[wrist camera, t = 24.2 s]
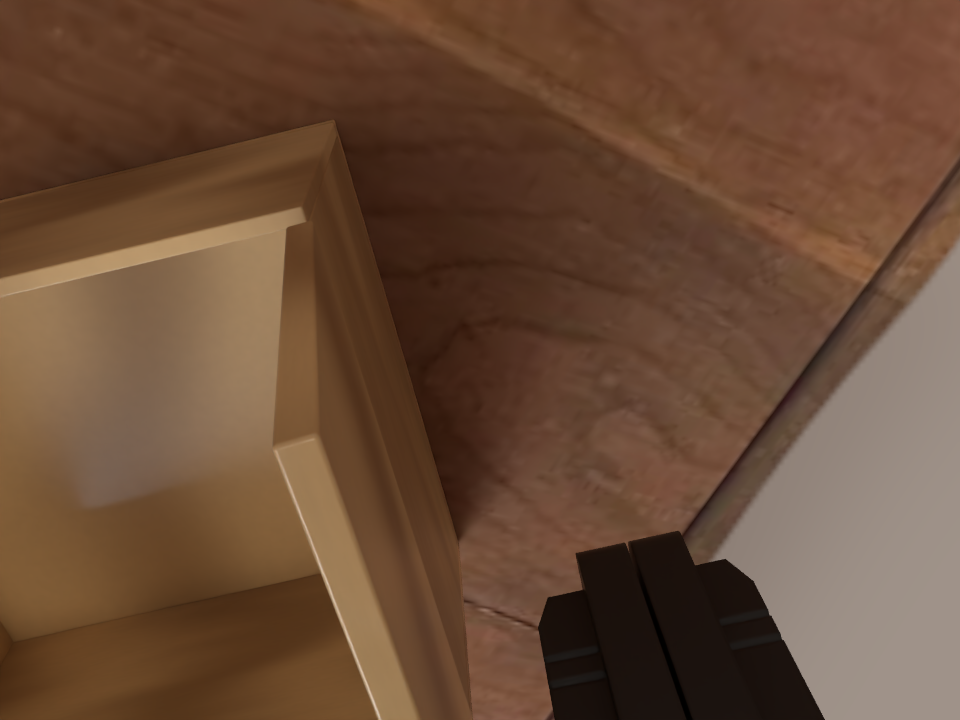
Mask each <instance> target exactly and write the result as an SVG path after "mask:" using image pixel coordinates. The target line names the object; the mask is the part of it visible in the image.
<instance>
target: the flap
mask: <svg viewBox="0 0 960 720" xmlns="http://www.w3.org/2000/svg"><path fill="white" fill-rule="evenodd" d="M272 451H273V453H274V456H275V458H276V461H277V463H278V466H279V469H280V471H281V474H282V476H283V479H284V481H285V484H286V486H287V489H288V492H289V494H290V497H291V499H292V502H293V504H294V507H295V509H296V512H297V515H298V517H299V520H300V522H301V525H302V527H303V530H304V532H305V535H306V537H307V540H308V543H309V545H310V548H311V550H312V553H313V555H314V558H315V560H316V563H317V566H318V568H319V571H320V573H321V576H322V578H323V581H324V583H325V586H326V589H327V591H328V594H329V596H330V599H331V601H332V604H333V606H334V609H335V611H336V614H337V617H338V619H339V622H340V624H341V627H342V629H343V632H344V634H345V637H346V640H347V642H348V645H349V647H350V650H351V652H352V655H353V657H354V660H355V663H356V665H357V668H358V670H359V673H360V675H361V678H362V680H363V683H364V685H365V688H366V691H367V693H368V696H369V698H370V701H371V703H372V706H373V708H374V711H375V714H376V716H377V719H378V720H473V718H472V715H471V712H470V709H469V705H468V702H467V699H466V696H465V693H464V690H463V687H462V684H461V681H460V677H459V674H458V671H457V668H456V665H455V662H454V659H453V656H452V653H451V649H450V646H449V643H448V640H447V637H446V634H445V631H444V628H443V625H442V621H441V618H440V615H439V612H438V609H437V606H436V603H435V600H434V597H433V593H432V590H431V587H430V584H429V581H428V578H427V575H426V572H425V569H424V565H423V562H422V559H421V556H420V553H419V550H418V547H417V544H416V541H415V537H414V534H413V531H412V528H411V525H410V522H409V519H408V516H407V513H406V509H405V506H404V503H403V500H402V497H401V494H400V491H399V488H398V485H397V481H396V478H395V475H394V472H393V469H392V466H391V463H390V460H389V457H388V453H387V450H386V447H385V444H384V441H383V438H382V435H381V432H380V429H379V425H378V422H377V419H376V416H375V413H374V410H373V407H372V404H371V401H370V397H369V394H368V391H367V388H366V385H365V382H364V379H363V376H362V373H361V369H360V366H359V363H358V360H357V357H356V354H355V351H354V348H353V345H352V341H351V338H350V335H349V332H348V329H347V326H346V323H345V320H344V317H343V313H342V310H341V307H340V304H339V301H338V298H337V295H336V292H335V289H334V285H333V282H332V279H331V276H330V273H329V270H328V267H327V264H326V261H325V257H324V254H323V251H322V248H321V245H320V242H319V239H318V236H317V233H316V229H315V226H314V223H313V222H312V221H308V222H304V223H300V224H297V225H293V226H289V227H287V228H286V239H285V254H284V270H283V286H282V301H281V317H280V332H279V348H278V364H277V379H276V395H275V411H274V426H273V442H272Z"/></svg>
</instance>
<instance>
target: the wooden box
mask: <svg viewBox="0 0 960 720" xmlns="http://www.w3.org/2000/svg"><path fill="white" fill-rule="evenodd" d="M308 221H312V222H313V223H314V226H315V229H316V233H317V236H318V239H319V242H320V245H321V248H322V251H323V254H324V257H325V261H326V264H327V267H328V270H329V273H330V276H331V279H332V282H333V285H334V289H335V292H336V295H337V298H338V301H339V304H340V307H341V310H342V313H343V317H344V320H345V323H346V326H347V329H348V332H349V335H350V338H351V341H352V345H353V348H354V351H355V354H356V357H357V360H358V363H359V366H360V369H361V373H362V376H363V379H364V382H365V385H366V388H367V391H368V394H369V397H370V401H371V404H372V407H373V410H374V413H375V416H376V419H377V422H378V425H379V429H380V432H381V435H382V438H383V441H384V444H385V447H386V450H387V453H388V457H389V460H390V463H391V466H392V469H393V472H394V475H395V478H396V481H397V485H398V488H399V491H400V494H401V497H402V500H403V503H404V506H405V509H406V513H407V516H408V519H409V522H410V525H411V528H412V531H413V534H414V537H415V541H416V544H417V547H418V550H419V553H420V556H421V559H422V562H423V565H424V569H425V572H426V575H427V578H428V581H429V584H430V587H431V590H432V593H433V597H434V600H435V603H436V606H437V609H438V612H439V615H440V618H441V621H442V625H443V628H444V631H445V634H446V637H447V640H448V643H449V646H450V649H451V653H452V656H453V659H454V662H455V665H456V668H457V671H458V674H459V677H460V681H461V684H462V687H463V690H464V693H465V696H466V699H467V702H468V705H469V709H470V712H471V715H472V703H471V691H470V678H469V665H468V653H467V640H466V627H465V615H464V602H463V589H462V577H461V564H460V551H459V543H458V539H457V536H456V532H455V529H454V526H453V522H452V519H451V515H450V512H449V508H448V505H447V502H446V498H445V495H444V491H443V488H442V485H441V481H440V478H439V474H438V471H437V468H436V464H435V461H434V457H433V454H432V451H431V447H430V444H429V440H428V437H427V434H426V430H425V427H424V423H423V420H422V417H421V413H420V410H419V406H418V403H417V400H416V396H415V393H414V389H413V386H412V382H411V379H410V376H409V372H408V369H407V365H406V362H405V359H404V355H403V352H402V348H401V345H400V342H399V338H398V335H397V331H396V328H395V325H394V321H393V318H392V314H391V311H390V308H389V304H388V301H387V297H386V294H385V291H384V287H383V284H382V280H381V277H380V274H379V270H378V267H377V263H376V260H375V256H374V253H373V250H372V246H371V243H370V239H369V236H368V233H367V229H366V226H365V222H364V219H363V216H362V212H361V209H360V205H359V202H358V199H357V195H356V192H355V188H354V185H353V182H352V178H351V175H350V171H349V168H348V165H347V161H346V158H345V154H344V151H343V148H342V144H341V141H340V137H339V134H338V130H337V127H336V124H335V121H334V120H330V121H326V122H322V123H317V124H313V125H309V126H305V127H301V128H297V129H293V130H288V131H284V132H280V133H276V134H272V135H268V136H264V137H260V138H255V139H251V140H247V141H243V142H239V143H235V144H231V145H227V146H222V147H218V148H214V149H210V150H206V151H202V152H198V153H194V154H189V155H185V156H181V157H177V158H173V159H169V160H165V161H161V162H156V163H152V164H148V165H144V166H140V167H136V168H132V169H128V170H123V171H119V172H115V173H111V174H107V175H103V176H99V177H94V178H90V179H86V180H82V181H78V182H74V183H70V184H66V185H61V186H57V187H53V188H49V189H45V190H41V191H37V192H33V193H28V194H24V195H20V196H16V197H12V198H8V199H4V200H0V720H378V719H377V716H376V714H375V711H374V708H373V706H372V703H371V701H370V698H369V696H368V693H367V691H366V688H365V685H364V683H363V680H362V678H361V675H360V673H359V670H358V668H357V665H356V663H355V660H354V657H353V655H352V652H351V650H350V647H349V645H348V642H347V640H346V637H345V634H344V632H343V629H342V627H341V624H340V622H339V619H338V617H337V614H336V611H335V609H334V606H333V604H332V601H331V599H330V596H329V594H328V591H327V589H326V586H325V583H324V581H323V578H322V576H321V573H320V571H319V568H318V566H317V563H316V560H315V558H314V555H313V553H312V550H311V548H310V545H309V543H308V540H307V537H306V535H305V532H304V530H303V527H302V525H301V522H300V520H299V517H298V515H297V512H296V509H295V507H294V504H293V502H292V499H291V497H290V494H289V492H288V489H287V486H286V484H285V481H284V479H283V476H282V474H281V471H280V469H279V466H278V463H277V461H276V458H275V456H274V453H273V451H272V442H273V426H274V411H275V395H276V379H277V364H278V348H279V332H280V317H281V301H282V286H283V270H284V254H285V239H286V228H287V227H289V226H293V225H297V224H300V223H304V222H308ZM472 718H473V716H472Z"/></svg>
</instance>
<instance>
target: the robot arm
mask: <svg viewBox="0 0 960 720" xmlns="http://www.w3.org/2000/svg"><path fill="white" fill-rule="evenodd" d="M628 546H629V551H628V548H627V546H626V544H625V543H621V544H616V545H611V546H607V547H602V548H598V549H593V550H589V551H584V552H579V553H576V559H577V564H578V569H579V573H580V578H581V583H582V587H583V590H581V591H576V592H572V593H567V594H562V595H558V596H553V597H548V599H547V602H546V605H545V608H544V611H543V614H542V617H541V620H540V623H539V626H538V629H539V635H540V640H541V646H542V651H543V657H544V662H545V668H546V673H547V679H548V684H549V689H550V696H551V701H552V707H553V712H554V718H555V720H825V719H824V717H823V715H822V713H821V711H820V710H819V708H818V706H817V704H816V702H815V700H814V698H813V696H812V694H811V692H810V690H809V688H808V686H807V685H806V682H805V680H804V679H803V677H802V675H801V673H800V671H799V669H798V667H797V665H796V663H795V661H794V659H793V657H792V655H791V653H790V651H789V650H788V647H787V646H786V644H785V642H784V640H782V638H781V634H780V632H779V630H778V628H777V626H776V624H775V623H774V620H773V618H772V616H770V615H769V612H768V609H767V607H766V605H765V603H764V601H763V599H762V597H761V595H760V593H759V592H758V589H757V587H756V585H755V583H754V581H753V580H751V579H750V578H749V577H748V576H746V575H745V574H744V573H742V572H741V571H740V570H739V569H738V568H736V567H735V566H733V565H732V564H731V563H730V562H728V561H727V560H726V559H723V560H718V561H714V562H709V563H704V564H700V565H695V564H694V562H693V560H692V558H691V555H690V553H689V551H688V549H687V546H686V544H685V542H684V539H683V537H682V535H681V533H680V532H679V531H675V532H670V533H666V534H661V535H656V536H652V537H647V538H643V539H638V540H633V541H629V542H628ZM629 553H630V554H629Z"/></svg>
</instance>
